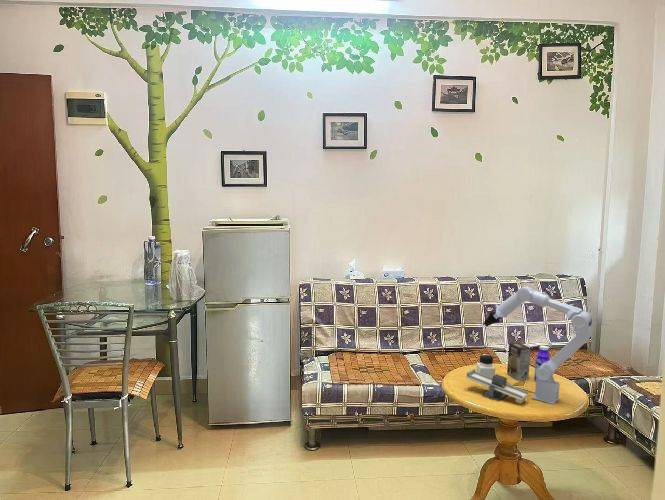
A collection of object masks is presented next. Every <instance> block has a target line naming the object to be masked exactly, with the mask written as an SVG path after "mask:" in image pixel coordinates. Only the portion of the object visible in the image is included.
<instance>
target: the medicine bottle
mask: <svg viewBox="0 0 665 500" xmlns="http://www.w3.org/2000/svg"><path fill="white" fill-rule="evenodd" d="M493 363H494V356H492V355H490V354H486V353H484V354H481V355H480V356H479V362H477V363H476V370H475V372H478V373H481V374H483V375H486V376H488V377H491V378H493V376H494V375H496V368H495V366H494V365H493Z"/></svg>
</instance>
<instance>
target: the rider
mask: <svg viewBox="0 0 665 500" xmlns="http://www.w3.org/2000/svg"><path fill="white" fill-rule="evenodd" d="M507 381H508V377H505V376H503V375H500V374H497V373H495V375H494V376H493V378H492V383H491V384H494V385H496V386H499V387H501V388H504V387H506V384H507Z"/></svg>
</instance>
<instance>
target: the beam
mask: <svg viewBox="0 0 665 500" xmlns="http://www.w3.org/2000/svg"><path fill="white" fill-rule="evenodd" d="M476 369H477V368H476ZM476 369H475V368H472V369H471V370H469V371H468V372H466V377H465V379H467V380H468V381H473V382H475V383H477V384H479V385H482V386H484V387H487V388H489V386H493V387H494V390H497V391H499V392H502V393H504V394H507V395H508V396H509V397H512V398H514V399H515V403H518V404H522V403H524V402H525V401H526V398H527V397H528V395H529V391H527V390H524V389H521V388H519V387H516V386H514V385H512V384H509V383H506V387H504V388H501V387H499V386H496V385H494V384H491V383H492V378H491V377H488V376H486V375H483V374H481V373H478V372H476Z"/></svg>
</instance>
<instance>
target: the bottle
mask: <svg viewBox="0 0 665 500" xmlns="http://www.w3.org/2000/svg"><path fill="white" fill-rule="evenodd" d="M538 349H539V350H538V352H537V354H536V356H537V357H536V358H535V362H534V375H533V378H534V380H535V381H536V377H537V376H536V370H537V368H539V367H540V366H541V365H542V364H543V363H544V362H547V361H549V360H550V359H551V358H550V357H551V356H550V353H549V352H550V351H549V349H550V348H549V346H547V345H539V348H538Z"/></svg>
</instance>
